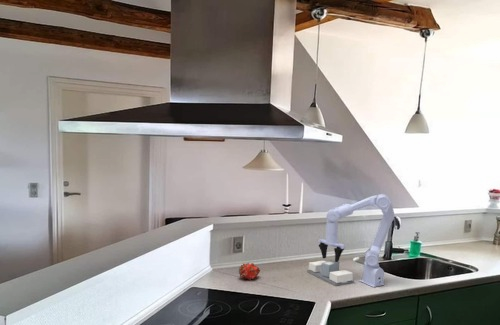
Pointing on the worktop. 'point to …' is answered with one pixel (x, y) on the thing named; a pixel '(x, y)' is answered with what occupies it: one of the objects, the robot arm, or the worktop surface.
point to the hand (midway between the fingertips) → (330, 259)
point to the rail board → (331, 274)
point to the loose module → (329, 267)
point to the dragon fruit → (249, 271)
